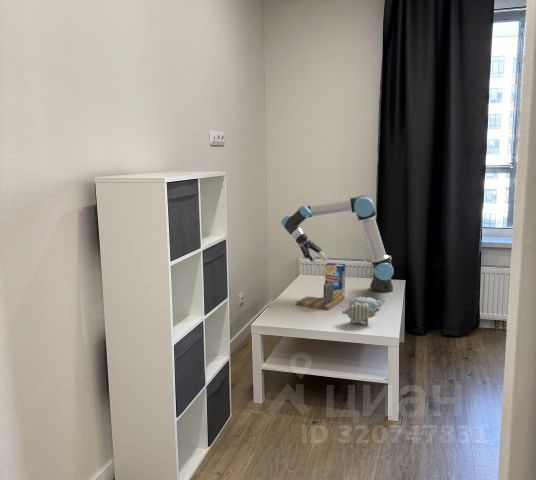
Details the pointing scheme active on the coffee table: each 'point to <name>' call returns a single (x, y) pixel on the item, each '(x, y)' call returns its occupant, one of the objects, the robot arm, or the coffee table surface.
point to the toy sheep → (359, 313)
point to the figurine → (367, 302)
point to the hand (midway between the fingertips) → (321, 262)
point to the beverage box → (336, 279)
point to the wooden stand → (320, 299)
